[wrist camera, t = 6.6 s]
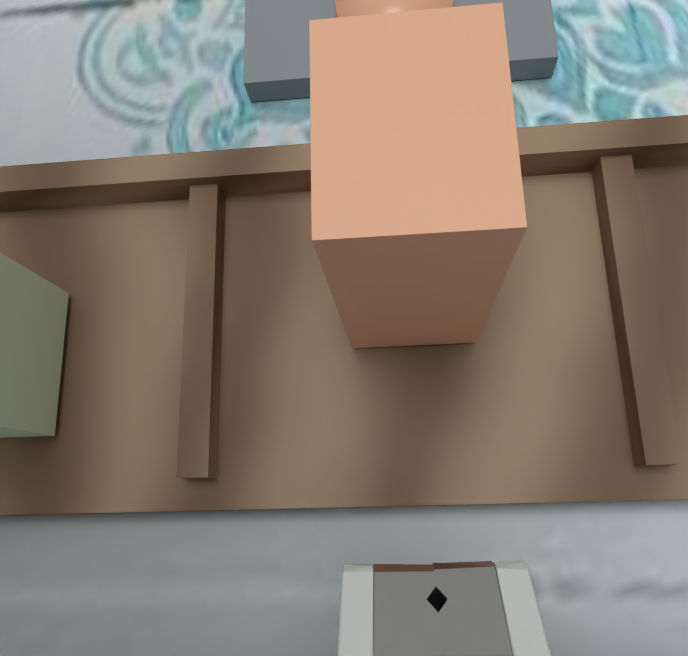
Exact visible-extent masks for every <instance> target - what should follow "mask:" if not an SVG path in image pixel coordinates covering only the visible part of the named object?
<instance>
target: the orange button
mask: <svg viewBox="0 0 688 656" xmlns="http://www.w3.org/2000/svg"><path fill="white" fill-rule="evenodd" d="M501 2H502V3H503V12H504V21H505V30H506V39H507V48H508V57H509V66H510V75H511V81H514V80H526V79H539V78H551V77H552V74H553V71H554V68H555V65H556V62H557V59H558V50H557V43H556V35H555V28H554V20H553V13H552V5H551V0H246V1H245V47H244V85H245V88H246V90H247V93H248V95H249V98H250V100H251V102H257V101H269V100H281V99H294V98H306V97H310V35H309V20H317V19H328V18H339V17H350V16H361V15H371V14H382V13H393V12H404V11H415V10H425V9H436V8H447V7H458V6H469V5H479V4H490V3H501Z"/></svg>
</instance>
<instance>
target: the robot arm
mask: <svg viewBox="0 0 688 656" xmlns="http://www.w3.org/2000/svg"><path fill="white" fill-rule="evenodd" d="M337 656H551V652H550V649H549V645H548V641H547V637H546V633H545V629H544V626H543V622H542V618H541V614H540V610H539V607H538V603H537V599H536V595H535V591H534V587H533V584H532V580H531V576H530V572H529V568H528V566H527V565H526V563H525V562H524V561H513V562H493V563H492V561H485V562H458V563H433V565H402V564H361V565H344V567H343V571H342V579H341V598H340V616H339V635H338V653H337Z"/></svg>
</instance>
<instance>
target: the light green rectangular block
mask: <svg viewBox="0 0 688 656" xmlns="http://www.w3.org/2000/svg"><path fill="white" fill-rule="evenodd" d="M68 295H69V293H68V292H66V291H64V290H63V289H61V288H59V287H58V286H56V285H54V284H53V283H51V282H49V281H48V280H46V279H44V278H42V277H41V276H39V275H37V274H36V273H34V272H32V271H31V270H29V269H27V268H26V267H24V266H22V265H21V264H19V263H17V262H16V261H14V260H12V259H11V258H9V257H7V256H6V255H4V254H2V253H0V438H6V437H35V436H55V428H56V418H57V408H58V398H59V387H60V377H61V367H62V357H63V347H64V336H65V326H66V316H67V306H68Z"/></svg>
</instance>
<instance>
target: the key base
mask: <svg viewBox="0 0 688 656" xmlns="http://www.w3.org/2000/svg"><path fill="white" fill-rule="evenodd" d="M516 130H517V139H518V148H519V157H520V166H521V175H522V184H523V194H524V203H525V212H526V221H527V229H526V231H525V233H524V235H523V238H522V240H521V242H520V244H519V246H518V249H517V251H516V253H515V255H514V257H513V260H512V262H511V264H510V266H509V269H508V271H507V273H506V275H505V277H504V280H503V282H502V284H501V286H500V288H499V291H498V293H497V295H496V297H495V299H494V302H493V304H492V306H491V308H490V310H489V313H488V315H487V317H486V319H485V322H484V324H483V326H482V328H481V330H480V333H479V335H478V337H477V339H476V341H475V343H455V344H434V345H412V346H390V347H368V348H352V347H351V344H350V342H349V339H348V336H347V334H346V331H345V328H344V326H343V323H342V320H341V318H340V315H339V312H338V310H337V307H336V304H335V301H334V299H333V296H332V293H331V291H330V288H329V285H328V283H327V280H326V277H325V275H324V272H323V269H322V267H321V264H320V261H319V259H318V256H317V253H316V251H315V248H314V245H313V242H312V220H311V143H309V144H296V145H282V146H269V147H256V148H242V149H229V150H216V151H202V152H189V153H176V154H162V155H149V156H136V157H122V158H109V159H96V160H82V161H69V162H56V163H42V164H29V165H16V166H2V167H0V253H2V254H4V255H6V256H7V257H9V258H11V259H12V260H14V261H16V262H17V263H19V264H21V265H22V266H24V267H26V268H27V269H29V270H31V271H32V272H34V273H36V274H37V275H39V276H41V277H42V278H44V279H46V280H48V281H49V282H51V283H53V284H54V285H56V286H58V287H59V288H61V289H63V290H64V291H66V292H68V293H69V295H68V306H67V316H66V326H65V336H64V347H63V357H62V367H61V377H60V387H59V398H58V408H57V418H56V428H55V436H35V437H6V438H0V515H26V514H70V513H114V512H157V511H201V510H244V509H288V508H332V507H375V506H419V505H462V504H506V503H550V502H593V501H637V500H680V499H688V115H682V116H669V117H655V118H642V119H629V120H615V121H602V122H589V123H575V124H562V125H549V126H535V127H522V128H516Z"/></svg>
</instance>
